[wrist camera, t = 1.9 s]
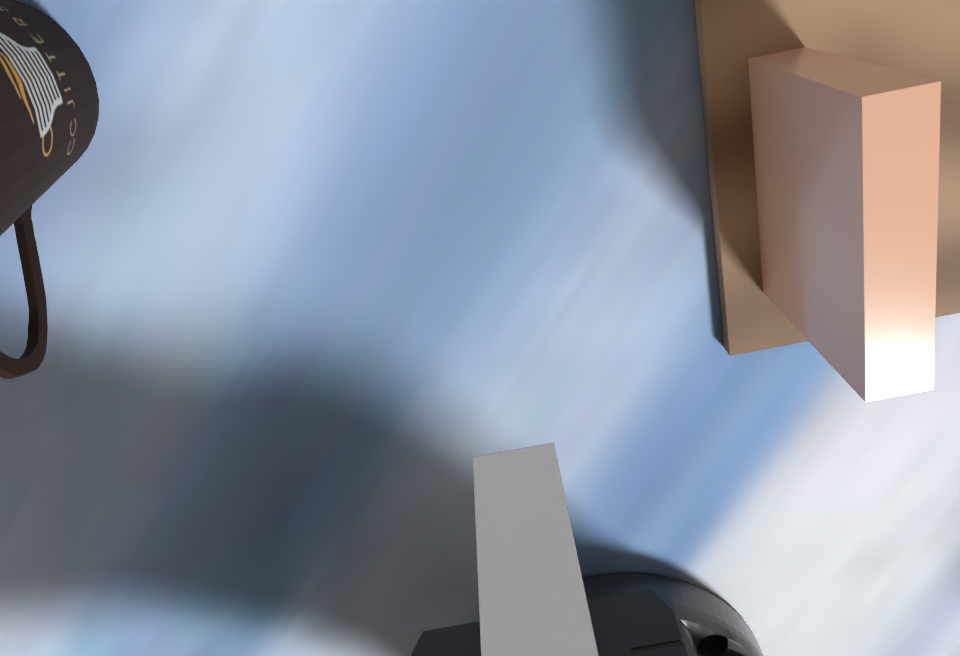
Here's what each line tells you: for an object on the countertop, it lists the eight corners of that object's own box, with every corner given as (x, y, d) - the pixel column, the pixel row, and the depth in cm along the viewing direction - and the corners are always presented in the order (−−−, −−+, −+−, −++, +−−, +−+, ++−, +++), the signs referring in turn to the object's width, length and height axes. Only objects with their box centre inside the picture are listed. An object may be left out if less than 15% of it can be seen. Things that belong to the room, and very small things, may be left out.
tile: (813, 282, 33) (933, 389, 25) (763, 292, 33) (865, 402, 25) (804, 47, 30) (941, 81, 22) (748, 58, 30) (861, 96, 22)
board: (1066, 283, 35) (1079, 290, 34) (723, 347, 35) (729, 355, 34) (1106, -160, 28) (1123, -163, 27) (687, -71, 29) (694, -72, 28)
